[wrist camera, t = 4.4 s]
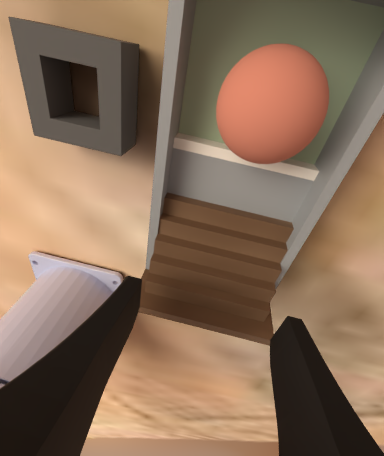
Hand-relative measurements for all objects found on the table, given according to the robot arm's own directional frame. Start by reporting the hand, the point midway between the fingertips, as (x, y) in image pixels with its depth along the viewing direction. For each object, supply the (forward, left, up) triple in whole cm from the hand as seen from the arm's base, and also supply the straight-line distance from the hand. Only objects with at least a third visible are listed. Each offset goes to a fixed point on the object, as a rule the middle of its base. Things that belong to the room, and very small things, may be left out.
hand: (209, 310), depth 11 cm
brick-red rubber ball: (+8, 0, -4) cm, 9 cm away
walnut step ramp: (0, 0, -6) cm, 6 cm away
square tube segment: (+7, +8, -6) cm, 12 cm away
